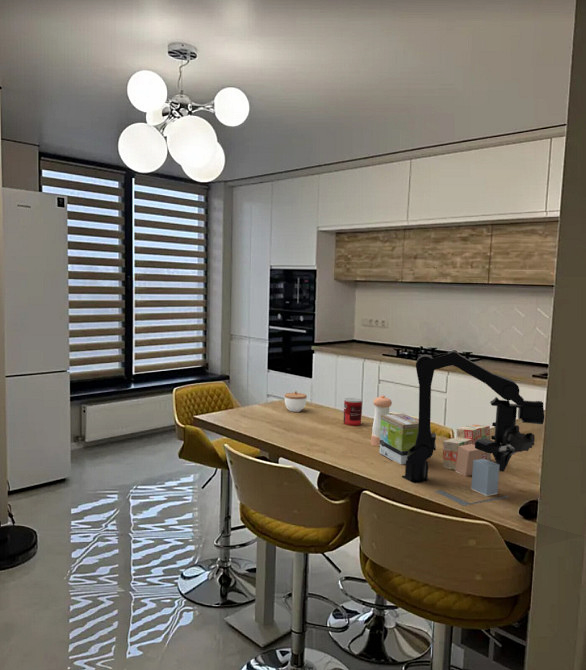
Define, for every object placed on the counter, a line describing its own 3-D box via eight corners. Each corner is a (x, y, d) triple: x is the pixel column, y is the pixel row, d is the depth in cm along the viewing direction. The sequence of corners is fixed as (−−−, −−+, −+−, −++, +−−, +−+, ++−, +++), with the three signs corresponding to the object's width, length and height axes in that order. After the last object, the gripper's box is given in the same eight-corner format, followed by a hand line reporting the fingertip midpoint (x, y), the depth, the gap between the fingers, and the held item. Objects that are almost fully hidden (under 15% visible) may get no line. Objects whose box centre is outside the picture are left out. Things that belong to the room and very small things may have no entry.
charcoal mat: (463, 507, 157) (463, 505, 157) (434, 492, 167) (434, 491, 167) (509, 498, 165) (509, 496, 165) (478, 484, 176) (479, 483, 176)
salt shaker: (368, 445, 216) (371, 396, 214) (373, 440, 223) (375, 393, 221) (387, 447, 213) (390, 398, 212) (391, 443, 220) (394, 395, 219)
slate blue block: (486, 496, 165) (488, 466, 164) (471, 489, 170) (473, 460, 169) (497, 494, 167) (499, 464, 166) (482, 487, 172) (484, 458, 171)
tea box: (378, 453, 205) (380, 414, 204) (401, 451, 209) (403, 412, 208) (400, 466, 191) (403, 423, 190) (425, 464, 195) (428, 422, 194)
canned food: (348, 420, 255) (349, 397, 255) (364, 423, 251) (365, 399, 250) (339, 423, 249) (341, 399, 248) (355, 426, 245) (357, 402, 244)
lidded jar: (306, 408, 278) (307, 390, 277) (305, 413, 267) (306, 394, 266) (285, 407, 279) (285, 388, 278) (282, 412, 268) (283, 392, 267)
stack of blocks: (459, 471, 186) (458, 434, 186) (443, 468, 191) (441, 432, 191) (491, 459, 201) (489, 425, 201) (475, 457, 205) (473, 423, 205)
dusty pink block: (478, 474, 185) (482, 449, 184) (465, 477, 182) (468, 451, 181) (468, 469, 189) (472, 444, 187) (455, 471, 186) (458, 446, 185)
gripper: (504, 429, 159) (500, 483, 160) (549, 424, 167) (545, 476, 169) (475, 420, 168) (471, 471, 170) (518, 416, 177) (515, 465, 178)
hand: (501, 471), depth 171 cm, fingers closed
